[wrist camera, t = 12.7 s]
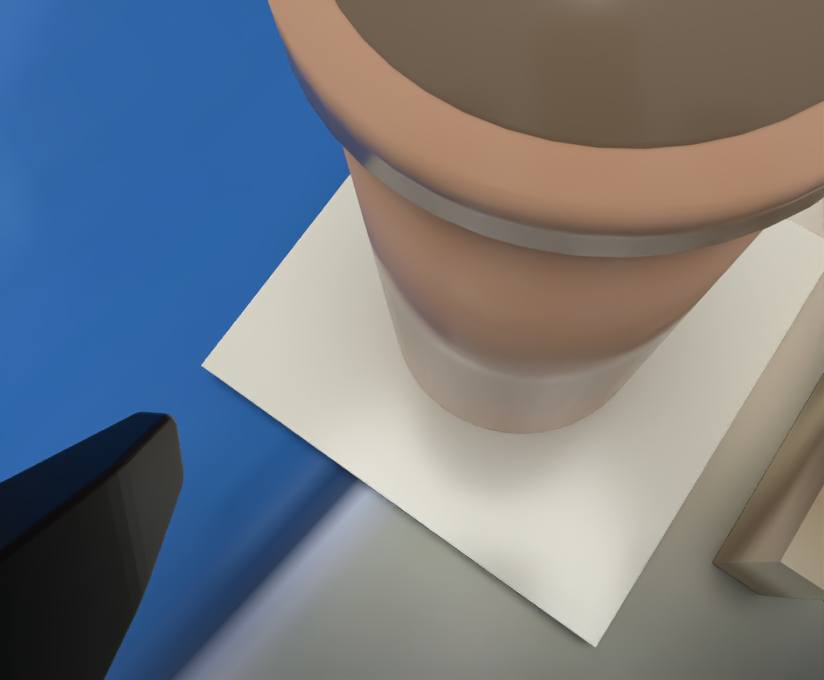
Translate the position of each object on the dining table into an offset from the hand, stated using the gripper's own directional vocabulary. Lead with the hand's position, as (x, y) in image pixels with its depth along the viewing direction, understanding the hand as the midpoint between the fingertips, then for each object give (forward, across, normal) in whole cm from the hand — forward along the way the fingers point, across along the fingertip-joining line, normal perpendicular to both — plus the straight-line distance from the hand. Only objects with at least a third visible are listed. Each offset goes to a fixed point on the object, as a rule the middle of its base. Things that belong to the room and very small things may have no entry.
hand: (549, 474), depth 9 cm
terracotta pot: (+10, 0, +3) cm, 10 cm away
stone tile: (+10, 0, +3) cm, 11 cm away
